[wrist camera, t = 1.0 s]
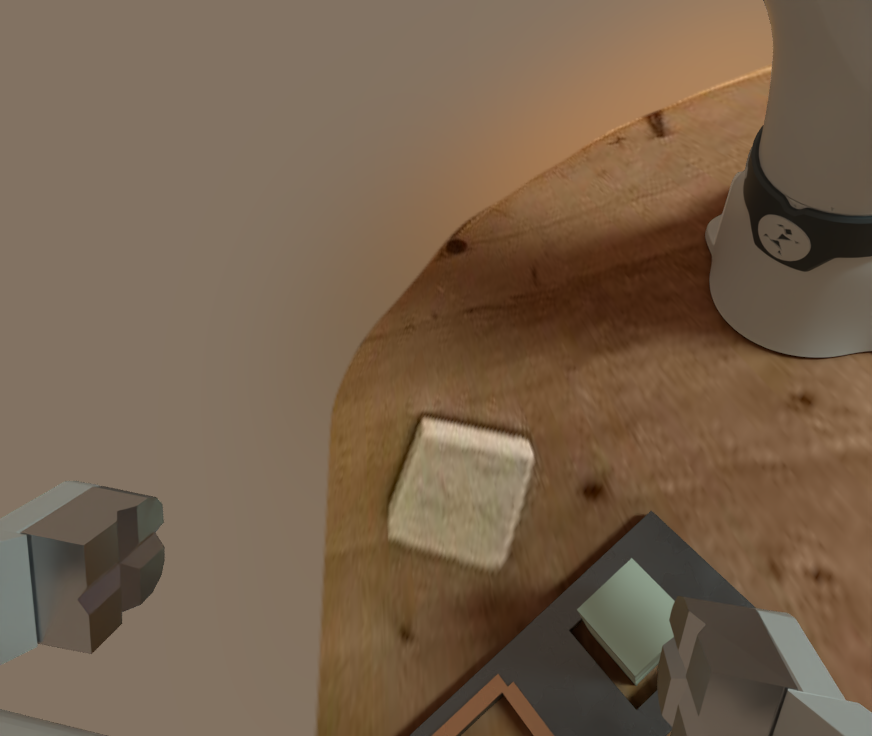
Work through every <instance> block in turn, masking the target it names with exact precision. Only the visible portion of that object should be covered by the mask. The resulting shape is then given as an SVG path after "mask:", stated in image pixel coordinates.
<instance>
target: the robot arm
mask: <svg viewBox="0 0 872 736" xmlns="http://www.w3.org/2000/svg"><path fill="white" fill-rule="evenodd" d="M763 1H764V3H765V6H766V9H767V12H768V16H769V20H770V24H771V30H772V37H773V61H772V72H771V82H770V90H769V97H768V103H767V109H766V115H765V120H764V125H763V126H762V127H761V129H760V130H759V132H758V133H757V135H756V138H755V140H754V143H753V146H752V148H751V150H750V152H749V155H748V159H747V163H746V167H745V170H744V171H743V172H738V173H737V174H736V175H735V177H734V178H733V180H732V183H731V186H730V190H729V193H728V196H727V199H726V203H725V206H724V209H723V213H722V214H721V215H719V216H717V217H716V218H714V219H712V220H711V221H710V222H709V223H708V225H707V228H706V232H705V239H706V242H707V245H708V247H709V250H710V252H711V254H712V265H711V270H710V279H709V282H710V291H711V295H712V298H713V301H714V303H715V306H716V307H717V309H718V311H719V312H720V314H721V315H722V317H723V318H724V319H725V320H726V321H727V323H728V324H729V325H730V326H731V327H733V328H734V329H735V330H736V331H737V332H739V333H740V334H741V335H743V336H744V337H746V338H747V339H749V340H751V341H753V342H754V343H756V344H758V345H761V346H763V347H765V348H768V349H770V350H774V351H777V352H780V353H784V354H789V355H794V356H801V357H816V358H818V357H835V356H842V355H847V354H852V353H858V352H865V351H872V0H763ZM163 522H164V520H163V507H162V503H161V502H160V501H159V500H158V499H157V498H156V497H153V496H148V495H143V494H138V493H133V492H129V491H124V490H119V489H115V488H109V487H105V486H99V485H96V484H91V483H85V482H79V481H65V482H63V483H61V484H59V485H58V486H56V487H54V488H53V489H51V490H49V491H47V492H46V493H44V494H42V495H40V496H39V497H37V498H35V499H34V500H32V501H30V502H28V503H27V504H25V505H23V506H21V507H20V508H18V509H16V510H14V511H13V512H11V513H9V514H7V515H6V516H4V517H2V518H1V519H0V665H1V664H4V663H6V662H8V661H10V660H12V659H14V658H16V657H18V656H20V655H22V654H24V653H26V652H28V651H30V650H32V649H34V648H36V647H37V646H38V644H42V645H48V646H53V647H58V648H63V649H68V650H73V651H78V652H83V653H89V654H92V653H93V652H94V651H95V650H96V649H97V648H98V647H99V646H100V645H101V644H102V643H103V642H104V641H105V640H106V639H107V638H108V637H109V636H110V635H111V634H112V633H113V632H114V631H115V630H116V629H117V628H118V627H119V626H120V625H121V624H122V612H124V611H126V610H129V609H131V608H134V607H136V606H139V605H141V604H142V603H143V602H144V601H145V600H146V598H148V596H150V594H151V593H152V592H153V591H154V588H155V587H156V585H157V583H158V581H159V579H160V577H161V575H162V570H163V565H164V545H163V544H162V542H161V541H160V539H159V538H158V536H157V535H156V533H155V532H156V531H157V530H158V529H159V527H160V526H161V525H162V524H163ZM669 621H670V625H671V628H672V632H673V635H674V637H673V638H672V639H670V640H669V641H668V642H667V643H665V644H664V645H663V646H662V650H661V655H660V660H659V664H658V679H657V689H658V700H659V705H660V710H661V714H662V716H663V718H664V719H665V720H666V721H667V722H668V723H669V724H670V725H671V726H672V730H671V734H670V736H872V713H871V712H870V711H869V710H867V709H866V708H865V707H863V706H862V705H861V704H859V703H855V702H851V701H846V700H845V698H844V696H843V695H842V693H841V692H840V690H839V688H838V687H837V685H836V684H835V682H834V680H833V679H832V677H831V675H830V674H829V672H828V671H827V669H826V667H825V666H824V664H823V663H822V661H821V659H820V658H819V656H818V654H817V653H816V651H815V650H814V648H813V646H812V645H811V643H810V642H809V640H808V638H807V637H806V635H805V633H804V632H803V630H802V629H801V627H800V625H799V624H798V622H797V621H796V619H795V618H794V617H793V616H791V615H790V614H788V613H784V612H777V611H770V610H764V609H757V608H748V607H742V606H736V605H730V604H724V603H718V602H712V601H706V600H700V599H693V598H687V597H681V596H677V598H676V600H675V602H674V604H673V607H672V610H671V614H670V618H669ZM0 736H107V735H103V734H99V733H95V732H91V731H86V730H82V729H78V728H74V727H70V726H66V725H62V724H58V723H54V722H50V721H46V720H42V719H38V718H34V717H30V716H26V715H22V714H18V713H14V712H10V711H5V710H2V709H0Z"/></svg>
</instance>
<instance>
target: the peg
mask: <svg viewBox="0 0 872 736" xmlns="http://www.w3.org/2000/svg"><path fill="white" fill-rule="evenodd" d="M674 602H675V601H674V600H673V599H672V598H671V597H670V596H669V595H668V594H667V593H666V592H665V591H664V590H663V589H662V588H661V587H660V586H659V585H658V584H657V583H656V582H655V581H654V580H653V579H652V578H651V577H650V576H649V575H648V574H647V573H646V572H645V571H644V570H643V569H642V568H641V567H640V566H639V565H638V564H637V563H636V562H635V561H634V560H633V559H632V558H631V559H630V560H629V561H628V562H627V563H626V564H625V565H624V566H623V567H622V568H621V569H619V570H618V571H617V572H616V573H615V574H614V575H613V576H612V577H611V578H610V579H609V580H608V581H607V582H606V583H605V584H604V585H602V586H601V587H600V588H599V589H598V590H597V591H596V592H595V593H594V594H593V595H592V596H591V597H590V598H589V599H588V600H586V601H585V602H584V603H583V604H582V605H581V606H580V607H579V608H578V609H577V611H578V613H579V614H580V616H581V618H582V619H583V621H584V623H585V625H586V626H587V628H588V630H589V631H590V633H591V635H592V636H593V637H594V638H595V639H596V640H597V642H598V643H599V644H600V645H601V646H602V647H603V649H604V650H605V651H606V652H607V653H608V654H609V655H610V657H611V658H612V659H613V660H614V661H615V662H616V663H617V665H618V666H619V667H620V668H621V669H622V670H623V672H624V673H625V674H626V675H627V676H628V677H629V678H630V680H631V681H632V682H633V683H634V684H635V685H637V684H638V683H639V682H640V681H641V680H642V679H643V678H644V677H645V676H646V675H647V674H648V673H649V672H650V671H651V670H652V669H654V668H655V667H656V666H657V665H658V664H659V660H660V655H661V650H662V646H663V645H664V644H665V643H667V642H668V641H669V640H670V639H672V638H673V637H674V635H673V632H672V628H671V625H670V621H669V618H670V614H671V610H672V607H673V604H674Z"/></svg>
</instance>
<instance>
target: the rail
mask: <svg viewBox="0 0 872 736" xmlns="http://www.w3.org/2000/svg"><path fill="white" fill-rule="evenodd" d="M631 558H632V559H633V560H634V561H635V562H636V563H637V564H638V565H639V566H640V567H641V568H642V569H643V570H644V571H645V572H646V573H647V574H648V575H649V576H650V577H651V578H652V579H653V580H654V581H655V582H656V583H657V584H658V585H659V586H660V587H661V588H662V589H663V590H664V591H665V592H666V593H667V594H668V595H669V596H670V597H671V598H672V599H673V600H674V601H675V600H676V598H677V596H681V597H687V598H693V599H700V600H706V601H712V602H718V603H724V604H730V605H736V606H742V607H748V608H755V607H754V606H753V605H752V604H751V603H750V602H749V601H748V600H747V599H746V598H745V597H743V596H742V595H741V594H740V593H739V592H738V591H737V590H736V589H735V588H734V587H733V586H732V585H731V584H730V583H728V582H727V581H726V580H725V579H724V578H723V577H722V576H721V575H720V574H719V573H718V572H717V571H716V570H714V569H713V568H712V567H711V566H710V565H709V564H708V563H707V562H706V561H705V560H704V559H703V558H702V557H701V556H699V555H698V554H697V553H696V552H695V551H694V550H693V549H692V548H691V547H690V546H689V545H688V544H687V543H686V542H684V541H683V540H682V539H681V538H680V537H679V536H678V535H677V534H676V533H675V532H674V531H673V530H672V529H671V528H669V527H668V526H667V525H666V524H665V523H664V522H663V521H662V520H661V519H660V518H659V517H658V516H657V515H655V514H654V513H653V512H652V511H650V512H649V513H648V514H647V515H646V516H645V517H644V518H643V519H642V520H641V521H640V522H639V523H638V524H636V525H635V526H634V527H633V528H632V529H631V530H630V531H629V532H628V533H627V534H626V535H625V536H624V537H622V538H621V539H620V540H619V541H618V542H617V543H616V544H615V545H614V546H613V547H612V548H611V549H610V550H608V551H607V552H606V553H605V554H604V555H603V556H602V557H601V558H600V559H599V560H598V561H597V562H596V563H595V564H593V565H592V566H591V567H590V568H589V569H588V570H587V571H586V572H585V573H584V574H583V575H582V576H581V577H579V578H578V579H577V580H576V581H575V582H574V583H573V584H572V585H571V586H570V587H569V588H568V589H567V590H566V591H564V592H563V593H562V594H561V595H560V596H559V597H558V598H557V599H556V600H555V601H554V602H553V603H552V604H550V605H549V606H548V607H547V608H546V609H545V610H544V611H543V612H542V613H541V614H540V615H539V616H538V617H537V618H535V619H534V620H533V621H532V622H531V623H530V624H529V625H528V626H527V627H526V628H525V629H524V630H523V631H521V632H520V633H519V634H518V635H517V636H516V637H515V638H514V639H513V640H512V641H511V642H510V643H509V644H507V645H506V646H505V647H504V648H503V649H502V650H501V651H500V652H499V653H498V654H497V655H496V656H495V657H494V658H492V659H491V660H490V661H489V662H488V663H487V664H486V665H485V666H484V667H483V668H482V669H481V670H480V671H478V672H477V673H476V674H475V675H474V676H473V677H472V678H471V679H470V680H469V681H468V682H467V683H466V684H465V685H463V686H462V687H461V688H460V689H459V690H458V691H457V692H456V693H455V694H454V695H453V696H452V697H451V698H449V699H448V700H447V701H446V702H445V703H444V704H443V705H442V706H441V707H440V708H439V709H438V710H437V711H435V712H434V713H433V714H432V715H431V716H430V717H429V718H428V719H427V720H426V721H425V722H424V723H423V724H422V725H420V726H419V727H418V728H417V729H416V730H415V731H414V732H413V733H412V734H411V735H410V736H461V735H462V734H463V733H464V732H465V731H466V730H467V729H468V728H469V727H470V726H471V725H473V724H474V723H475V722H476V721H477V720H478V719H479V718H480V717H481V716H482V715H483V714H484V713H485V712H486V711H487V710H488V709H489V708H491V707H492V706H493V705H494V704H495V703H496V702H497V701H498V700H499V699H500V698H501V697H502V696H503V695H505V697H506V698H507V700H508V701H509V702H510V704H511V705H512V706H513V708H514V709H515V711H516V712H517V713H518V715H519V716H520V717H521V719H522V720H523V722H524V723H525V724H526V726H527V727H528V728H529V730H530V731H531V733H532V734H533V735H534V736H666V735H667V734H668V733H669V732H670V731H671V730H672V726H671V725H670V724H669V723H668V722H667V721H666V720H665V719H664V718H663V716H662V714H661V710H660V705H659V700H658V690H657V691H656V692H655V693H654V694H653V695H652V696H651V697H650V698H649V699H648V700H647V701H645V702H644V703H643V704H642V705H641V706H640V707H639V708H638V709H637V710H636V709H635V708H634V707H633V706H632V704H631V703H630V702H629V701H628V700H627V698H626V697H625V696H624V695H623V694H622V693H621V691H620V690H619V689H618V688H617V687H616V686H615V684H614V683H613V682H612V681H611V680H610V678H609V677H608V676H607V675H606V674H605V673H604V671H603V670H602V669H601V668H600V667H599V665H598V664H597V663H596V662H595V661H594V660H593V658H592V657H591V656H590V655H589V654H588V652H587V651H586V650H585V649H584V648H583V647H582V645H581V644H580V643H579V642H578V641H577V639H576V638H575V637H574V636H573V635H572V634H571V631H572V630H573V629H574V628H575V627H576V626H578V625H579V624H580V623H581V622H582V621H583V619H582V618H581V616H580V614H579V613H578V611H577V609H578V608H579V607H580V606H581V605H582V604H583V603H584V602H585V601H586V600H588V599H589V598H590V597H591V596H592V595H593V594H594V593H595V592H596V591H597V590H598V589H599V588H600V587H601V586H602V585H604V584H605V583H606V582H607V581H608V580H609V579H610V578H611V577H612V576H613V575H614V574H615V573H616V572H617V571H618V570H619V569H621V568H622V567H623V566H624V565H625V564H626V563H627V562H628V561H629V560H630V559H631Z"/></svg>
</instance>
